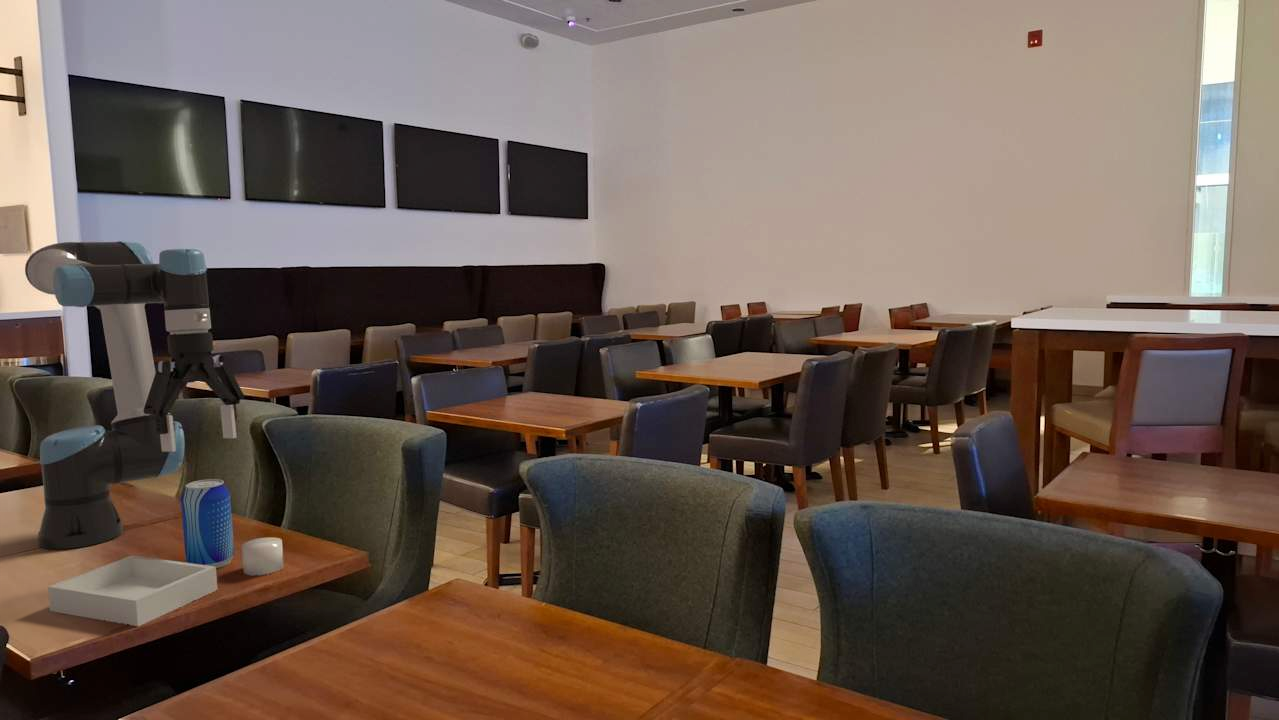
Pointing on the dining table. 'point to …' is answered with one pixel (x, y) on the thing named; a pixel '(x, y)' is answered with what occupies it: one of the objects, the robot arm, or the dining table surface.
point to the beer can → (207, 523)
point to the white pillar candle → (262, 556)
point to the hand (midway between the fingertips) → (200, 444)
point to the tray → (132, 590)
